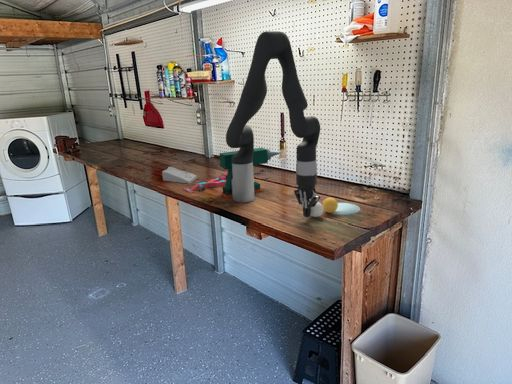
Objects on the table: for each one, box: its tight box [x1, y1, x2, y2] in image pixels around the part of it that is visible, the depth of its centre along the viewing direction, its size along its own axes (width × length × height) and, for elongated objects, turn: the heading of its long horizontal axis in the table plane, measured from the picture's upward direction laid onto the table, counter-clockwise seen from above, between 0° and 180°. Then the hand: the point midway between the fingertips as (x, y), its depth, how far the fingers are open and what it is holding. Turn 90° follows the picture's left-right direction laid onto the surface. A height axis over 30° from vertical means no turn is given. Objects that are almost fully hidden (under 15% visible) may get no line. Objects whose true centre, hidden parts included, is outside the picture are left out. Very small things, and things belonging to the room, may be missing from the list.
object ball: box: [321, 197, 339, 214], centre depth 149 cm, size 6×6×6 cm
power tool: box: [218, 147, 281, 199], centre depth 181 cm, size 32×7×20 cm, turn 115°
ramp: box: [161, 166, 198, 185], centre depth 212 cm, size 28×16×5 cm, turn 37°
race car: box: [183, 170, 228, 194], centre depth 194 cm, size 14×6×25 cm
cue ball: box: [310, 201, 325, 218], centre depth 146 cm, size 6×6×6 cm
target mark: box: [331, 202, 361, 216], centre depth 153 cm, size 14×14×1 cm
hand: (306, 216), depth 143 cm, fingers closed
